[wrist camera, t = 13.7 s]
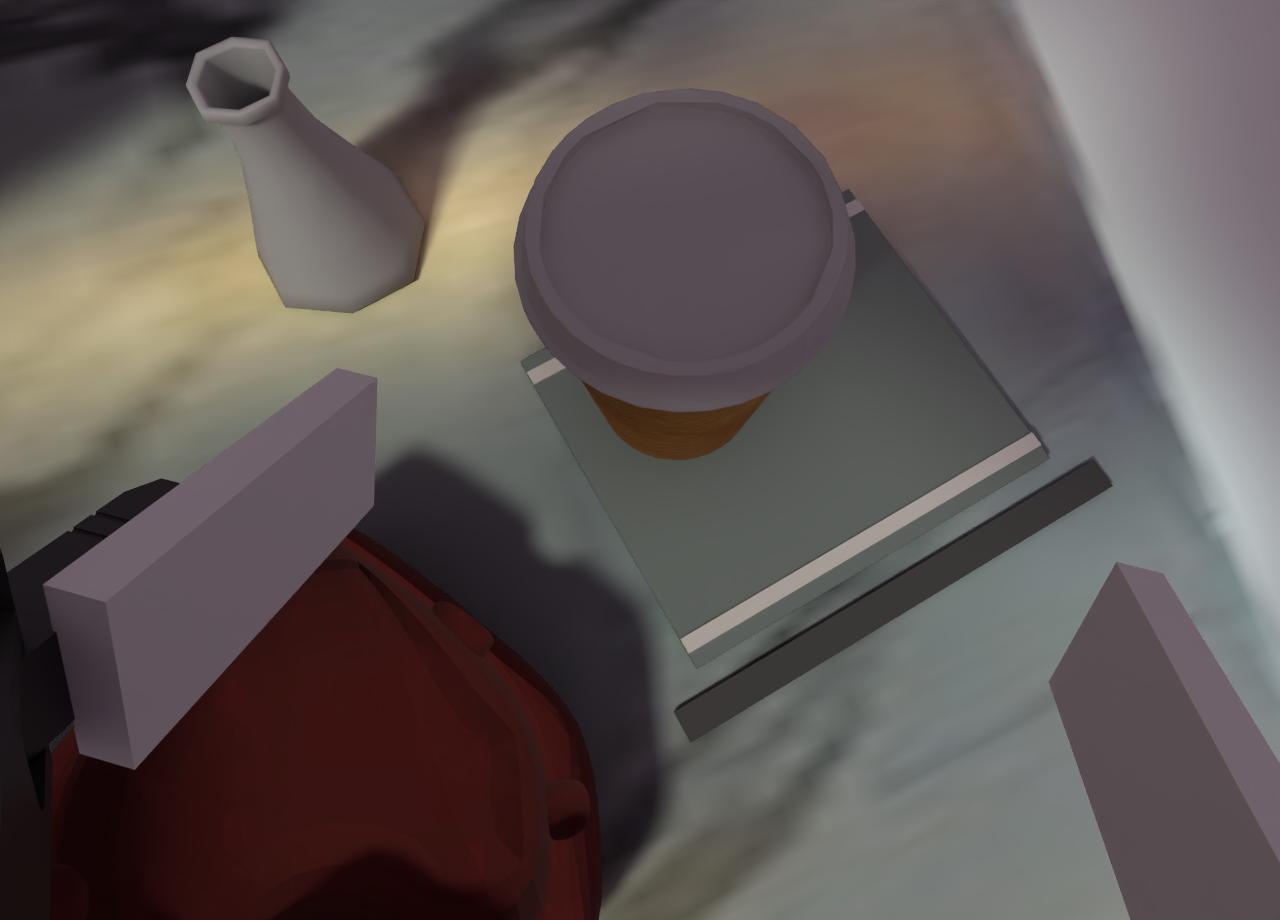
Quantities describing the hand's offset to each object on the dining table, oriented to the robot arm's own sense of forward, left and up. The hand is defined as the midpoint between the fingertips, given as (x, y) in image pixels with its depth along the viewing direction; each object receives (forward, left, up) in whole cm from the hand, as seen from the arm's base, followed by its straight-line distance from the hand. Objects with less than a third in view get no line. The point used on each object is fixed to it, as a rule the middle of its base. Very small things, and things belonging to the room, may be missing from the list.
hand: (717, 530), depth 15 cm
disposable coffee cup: (-8, +5, -17) cm, 20 cm away
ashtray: (-2, -13, -18) cm, 22 cm away
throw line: (+3, +8, -17) cm, 19 cm away
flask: (-21, -4, -18) cm, 28 cm away
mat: (-5, +8, -17) cm, 20 cm away
